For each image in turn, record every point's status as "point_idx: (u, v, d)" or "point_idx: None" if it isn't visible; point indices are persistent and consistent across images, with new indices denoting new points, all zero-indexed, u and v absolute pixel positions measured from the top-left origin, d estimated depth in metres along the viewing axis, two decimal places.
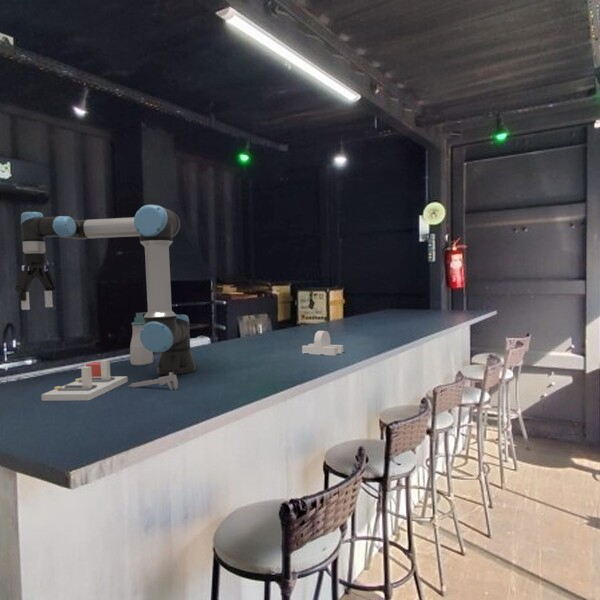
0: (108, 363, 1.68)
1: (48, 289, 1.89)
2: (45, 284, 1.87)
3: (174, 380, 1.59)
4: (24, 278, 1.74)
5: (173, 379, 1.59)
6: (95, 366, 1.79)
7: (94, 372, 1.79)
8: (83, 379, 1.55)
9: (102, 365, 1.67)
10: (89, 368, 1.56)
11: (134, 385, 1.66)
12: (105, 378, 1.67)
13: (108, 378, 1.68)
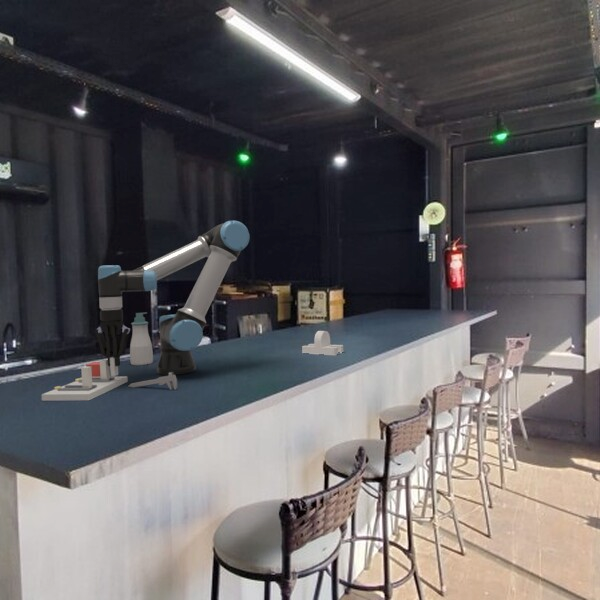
0: (107, 363, 1.68)
1: None
2: None
3: (173, 380, 1.59)
4: (99, 343, 1.66)
5: (173, 379, 1.59)
6: (95, 366, 1.79)
7: (94, 372, 1.79)
8: (83, 379, 1.55)
9: (102, 365, 1.67)
10: (89, 368, 1.56)
11: (134, 385, 1.66)
12: (104, 378, 1.67)
13: (107, 378, 1.68)
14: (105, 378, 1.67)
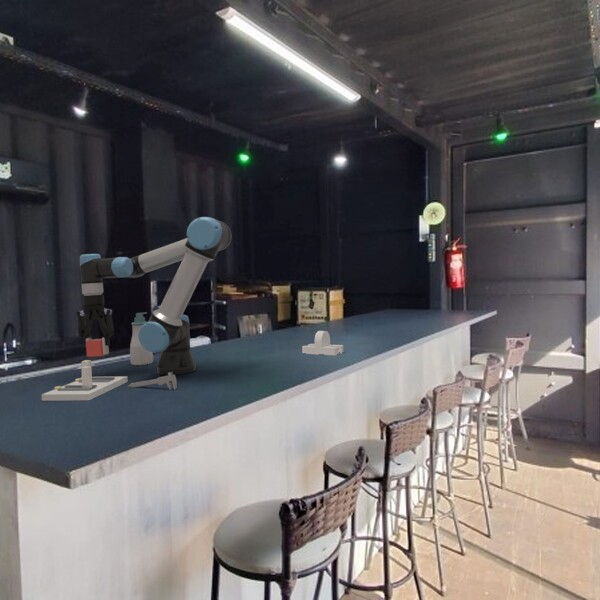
0: (89, 363, 1.69)
1: None
2: None
3: (173, 380, 1.59)
4: (79, 324, 1.81)
5: (172, 379, 1.59)
6: (95, 342, 1.79)
7: (94, 348, 1.79)
8: (83, 379, 1.55)
9: (84, 365, 1.68)
10: (89, 368, 1.56)
11: (133, 385, 1.66)
12: None
13: None
14: None
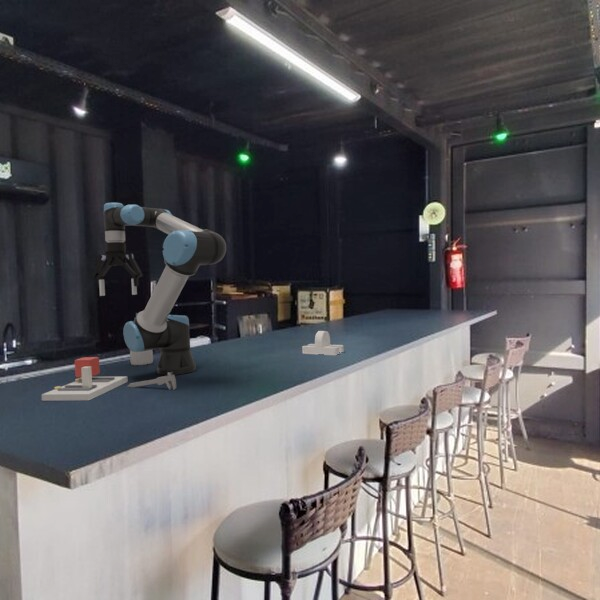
0: None
1: None
2: None
3: (172, 380, 1.59)
4: (96, 267, 1.89)
5: (172, 379, 1.59)
6: (84, 362, 1.66)
7: None
8: (83, 379, 1.55)
9: None
10: (89, 368, 1.56)
11: (133, 385, 1.66)
12: None
13: None
14: None
